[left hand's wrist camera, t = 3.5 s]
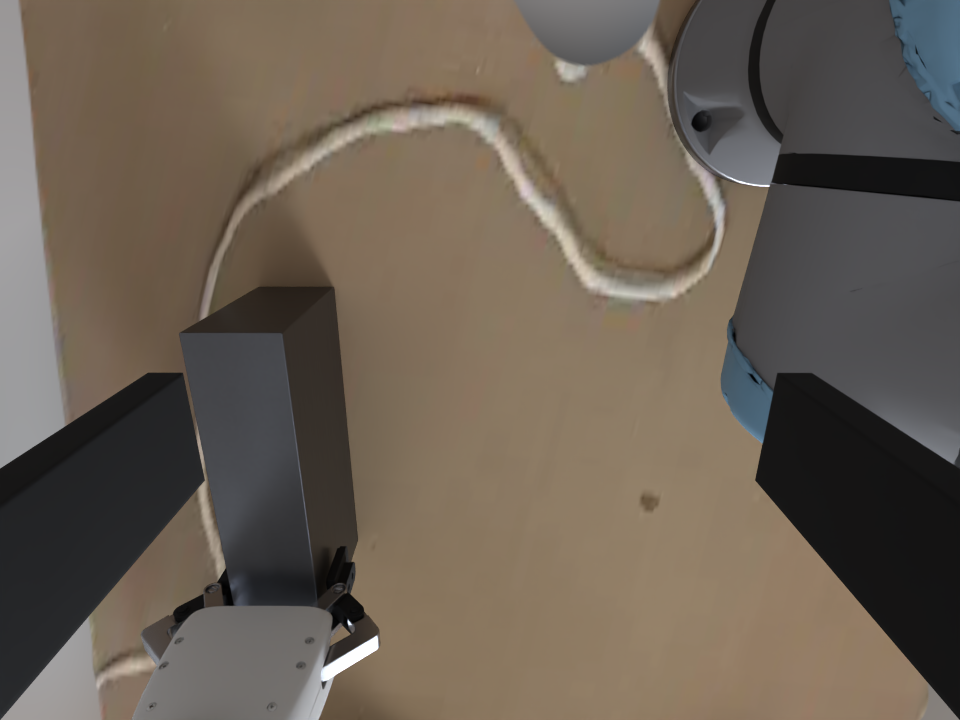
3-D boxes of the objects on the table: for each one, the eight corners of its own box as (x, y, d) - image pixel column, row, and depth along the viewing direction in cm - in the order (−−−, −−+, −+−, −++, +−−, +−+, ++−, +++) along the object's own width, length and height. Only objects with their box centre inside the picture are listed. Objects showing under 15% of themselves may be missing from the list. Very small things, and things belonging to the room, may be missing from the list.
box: (257, 286, 44) (178, 333, 33) (334, 286, 44) (282, 333, 33) (294, 540, 53) (241, 648, 41) (358, 540, 53) (323, 648, 41)
